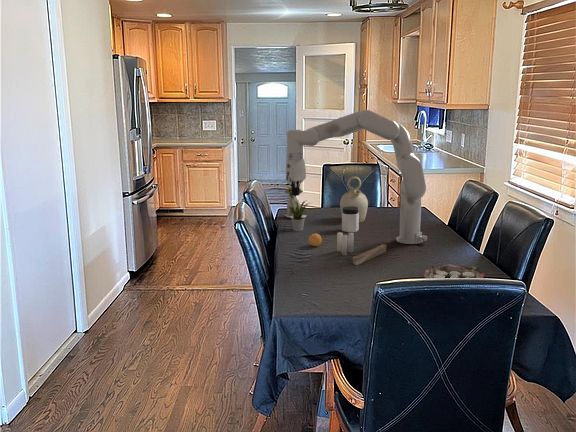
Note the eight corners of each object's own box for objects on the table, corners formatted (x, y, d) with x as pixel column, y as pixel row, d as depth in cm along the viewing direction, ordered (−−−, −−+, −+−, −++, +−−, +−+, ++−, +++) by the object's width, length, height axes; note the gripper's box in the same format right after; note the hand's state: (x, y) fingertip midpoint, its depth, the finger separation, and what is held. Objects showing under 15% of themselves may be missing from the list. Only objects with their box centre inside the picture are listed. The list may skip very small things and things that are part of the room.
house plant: (314, 226, 285) (314, 196, 281) (313, 233, 272) (313, 202, 268) (288, 226, 286) (287, 196, 283) (285, 232, 273) (285, 201, 269)
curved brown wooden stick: (386, 251, 238) (386, 245, 237) (356, 265, 220) (357, 258, 219) (382, 250, 239) (382, 244, 238) (352, 264, 221) (352, 257, 221)
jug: (366, 223, 289) (367, 178, 283) (338, 223, 292) (338, 178, 286) (368, 217, 303) (369, 174, 298) (341, 216, 306) (341, 174, 301)
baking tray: (424, 270, 215) (424, 257, 213) (480, 273, 209) (481, 260, 208) (423, 296, 186) (423, 282, 185) (488, 301, 181) (489, 286, 180)
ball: (324, 245, 249) (324, 233, 248) (316, 248, 244) (316, 236, 243) (314, 243, 253) (313, 231, 251) (306, 246, 248) (306, 234, 247)
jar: (343, 232, 271) (343, 210, 268) (340, 228, 279) (340, 206, 276) (360, 231, 272) (361, 209, 270) (356, 228, 280) (356, 205, 277)
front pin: (343, 251, 240) (343, 233, 238) (340, 252, 238) (340, 234, 236) (339, 250, 241) (339, 232, 239) (336, 251, 240) (336, 233, 238)
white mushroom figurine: (293, 221, 298) (292, 188, 294) (280, 217, 308) (279, 185, 304) (309, 218, 305) (309, 186, 300) (296, 214, 315) (296, 183, 311)
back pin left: (348, 254, 235) (348, 235, 233) (345, 255, 233) (345, 236, 232) (343, 253, 237) (343, 234, 235) (340, 254, 235) (340, 236, 233)
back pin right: (354, 251, 239) (354, 233, 237) (351, 252, 237) (351, 234, 235) (350, 250, 240) (350, 232, 239) (347, 251, 239) (347, 233, 237)
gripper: (290, 158, 239) (291, 198, 243) (311, 155, 250) (311, 193, 254) (278, 157, 243) (279, 196, 247) (299, 154, 254) (299, 192, 259)
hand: (295, 195), depth 251 cm, fingers closed
